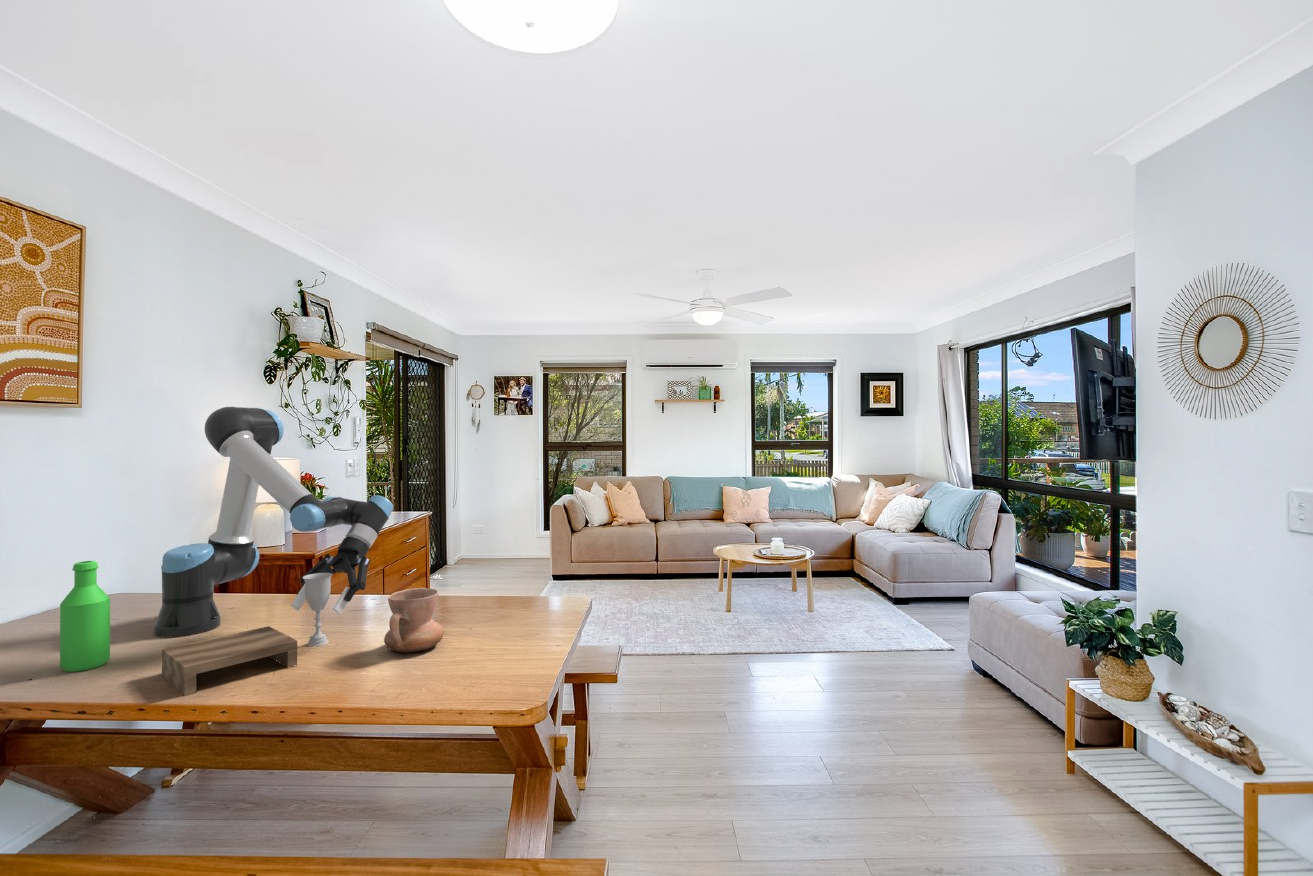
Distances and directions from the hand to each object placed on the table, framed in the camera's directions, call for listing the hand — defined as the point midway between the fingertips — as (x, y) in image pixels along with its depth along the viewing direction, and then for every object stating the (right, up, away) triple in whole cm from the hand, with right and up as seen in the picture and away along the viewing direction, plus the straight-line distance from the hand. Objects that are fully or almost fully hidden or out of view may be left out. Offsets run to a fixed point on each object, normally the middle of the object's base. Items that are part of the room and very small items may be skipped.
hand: (315, 609), depth 162 cm
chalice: (0, -10, +1) cm, 10 cm away
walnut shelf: (-10, -9, -18) cm, 22 cm away
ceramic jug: (+27, -10, -2) cm, 28 cm away
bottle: (-47, -10, -15) cm, 50 cm away
